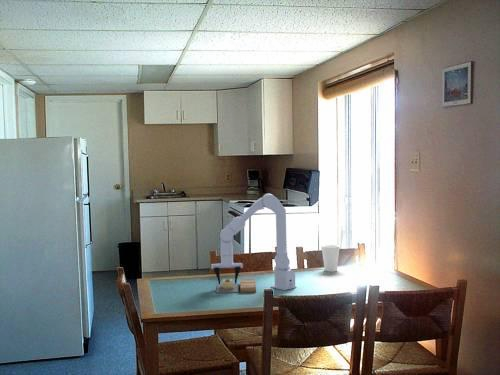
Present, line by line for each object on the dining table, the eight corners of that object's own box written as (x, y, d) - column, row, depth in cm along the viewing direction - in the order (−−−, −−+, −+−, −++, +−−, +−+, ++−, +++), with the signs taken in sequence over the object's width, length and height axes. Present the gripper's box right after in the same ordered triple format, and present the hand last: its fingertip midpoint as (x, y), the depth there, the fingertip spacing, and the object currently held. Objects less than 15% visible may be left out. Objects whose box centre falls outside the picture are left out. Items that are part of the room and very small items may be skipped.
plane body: (256, 292, 263) (255, 287, 263) (240, 293, 263) (240, 287, 263) (255, 283, 281) (255, 278, 281) (240, 284, 281) (240, 278, 281)
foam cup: (340, 271, 305) (340, 247, 304) (323, 272, 305) (322, 247, 304) (338, 268, 314) (338, 244, 314) (321, 268, 315) (320, 244, 314)
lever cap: (232, 289, 269) (232, 280, 268) (222, 289, 268) (222, 280, 268) (232, 285, 276) (232, 277, 275) (222, 286, 275) (222, 277, 275)
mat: (238, 292, 264) (238, 291, 264) (216, 293, 264) (216, 292, 264) (238, 284, 280) (238, 283, 280) (217, 285, 280) (217, 284, 280)
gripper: (242, 252, 275) (243, 281, 276) (211, 253, 275) (212, 282, 276) (242, 255, 268) (243, 284, 269) (210, 256, 268) (211, 285, 269)
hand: (227, 283), depth 272 cm, fingers open, 7 cm apart
